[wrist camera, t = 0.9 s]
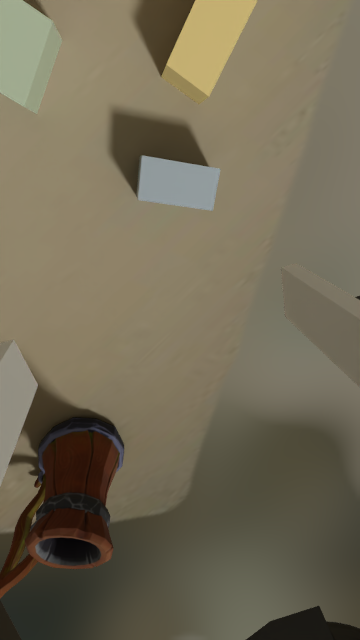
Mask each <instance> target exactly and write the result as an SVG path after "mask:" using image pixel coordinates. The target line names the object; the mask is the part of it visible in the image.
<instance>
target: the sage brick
mask: <svg viewBox="0 0 360 640" xmlns="http://www.w3.org/2000/svg"><path fill="white" fill-rule="evenodd" d="M61 43H62V39H61V37H60V35H59V33H58V31H57V29H56V27H55V25H54V23H53V21H52V20H51V19H49V18H48V17H46V16H45V15H43V14H42V13H40V12H39V11H38V10H36V9H35V8H33V7H32V6H30V5H29V4H27V3H26V2H25V1H23V0H0V93H1V94H3V95H5V96H6V97H8V98H10V99H12V100H13V101H15V102H17V103H18V104H20V105H22V106H23V107H25V108H27V109H29V110H31V111H32V112H34V113H36V114H37V113H38V110H39V107H40V104H41V101H42V98H43V95H44V92H45V89H46V86H47V83H48V81H49V78H50V75H51V72H52V69H53V66H54V63H55V60H56V57H57V54H58V51H59V48H60V46H61Z"/></svg>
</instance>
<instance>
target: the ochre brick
mask: <svg viewBox="0 0 360 640" xmlns="http://www.w3.org/2000/svg"><path fill="white" fill-rule="evenodd" d="M256 2H257V0H195V2H194V5H193V7H192V9H191V11H190V13H189V16H188V18H187V20H186V22H185V24H184V27H183V29H182V31H181V33H180V35H179V38H178V40H177V42H176V44H175V46H174V49H173V51H172V53H171V55H170V58H169V60H168V62H167V64H166V67H165V69H164V71H163V74H162V76H161V77H162V78H163V79H165V80H166V81H167V82H169V83H170V84H172V85H173V86H174V87H176V88H177V89H178V90H180V91H181V92H183V93H184V94H185V95H187V96H188V97H189V98H191V99H192V100H194V101H195V102H196V103H198V104H200V103H202V102H203V101H204V100H205V99H207V98H208V97H209V96H210V94H211V92H212V90H213V88H214V86H215V84H216V82H217V80H218V78H219V76H220V74H221V72H222V70H223V68H224V66H225V64H226V62H227V60H228V58H229V56H230V54H231V52H232V50H233V48H234V46H235V44H236V42H237V40H238V38H239V36H240V34H241V32H242V30H243V28H244V26H245V24H246V22H247V20H248V18H249V16H250V14H251V12H252V10H253V8H254V6H255V4H256Z"/></svg>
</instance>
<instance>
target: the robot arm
mask: <svg viewBox="0 0 360 640" xmlns="http://www.w3.org/2000/svg"><path fill="white" fill-rule="evenodd" d="M281 271H282V284H283V297H284V309H285V317H286V318H287V319H288V320H289V321H290V322H291V323H292V324H293V325H294V326H295V327H297V328H298V329H299V330H300V331H301V332H302V333H303V334H304V335H305V336H306V337H307V338H308V339H309V340H310V341H311V342H312V343H313V344H315V345H316V346H317V347H318V348H319V349H320V350H321V351H322V352H323V353H324V354H325V355H326V356H327V357H328V358H329V359H330V360H331V361H332V362H333V363H335V364H336V365H337V366H338V367H339V368H340V369H341V370H342V371H343V372H344V373H345V374H346V375H347V376H348V377H349V378H350V379H352V380H353V381H354V382H355V383H356V384H357V385H358V386H359V387H360V296H357V297H354V296H352V295H350V294H348V293H347V292H345V291H343V290H341V289H340V288H338V287H336V286H335V285H333V284H331V283H329V282H328V281H326V280H324V279H323V278H321V277H319V276H317V275H316V274H314V273H312V272H310V271H309V270H307V269H305V268H304V267H302V266H300V265H298V264H297V263H295V264H292V265H288V266H284V267H281ZM37 387H38V384H37V382H36V380H35V378H34V376H33V375H32V373H31V371H30V369H29V367H28V365H27V363H26V361H25V360H24V358H23V356H22V354H21V352H20V350H19V348H18V346H17V345H16V343H15V341H14V340H10V341H7V342H3V343H0V486H1V483H2V480H3V478H4V475H5V472H6V470H7V467H8V464H9V462H10V459H11V456H12V454H13V451H14V448H15V446H16V443H17V440H18V438H19V435H20V432H21V430H22V427H23V424H24V422H25V419H26V416H27V414H28V411H29V408H30V406H31V403H32V400H33V398H34V395H35V392H36V390H37ZM0 640H22V639H21V638H20V636H19V634H18V632H17V630H16V628H15V626H14V625H13V623H12V621H11V619H10V617H9V615H8V614H7V612H6V610H5V608H4V606H3V604H2V602H1V601H0ZM246 640H360V628H357V627H354V626H351V625H347V624H342V623H337V622H326V620H325V618H324V616H323V613H322V611H321V609H320V607H319V606H317V607H314V608H310V609H307V610H304V611H301V612H298V613H295V614H292V615H289V616H286V617H282V618H279V619H276V620H273V621H270V622H269V623H267V624H266V625H265V626H263V627H262V628H261V629H260V630H258V631H257V632H256V633H254V634H253V635H252V636H250V637H249V638H248V639H246Z"/></svg>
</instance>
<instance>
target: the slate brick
mask: <svg viewBox="0 0 360 640" xmlns="http://www.w3.org/2000/svg"><path fill="white" fill-rule="evenodd" d="M219 174H220V169H218V168H213V167H207V166H201V165H195V164H189V163H184V162H178V161H172V160H166V159H160V158H155V157H149V156H143V155H141V156H140V161H139V172H138V183H137V194H136V196H137V199H138V200H142V201H149V202H156V203H163V204H170V205H177V206H184V207H191V208H197V209H204V210H211V211H213V207H214V201H215V196H216V190H217V185H218V179H219Z"/></svg>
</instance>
